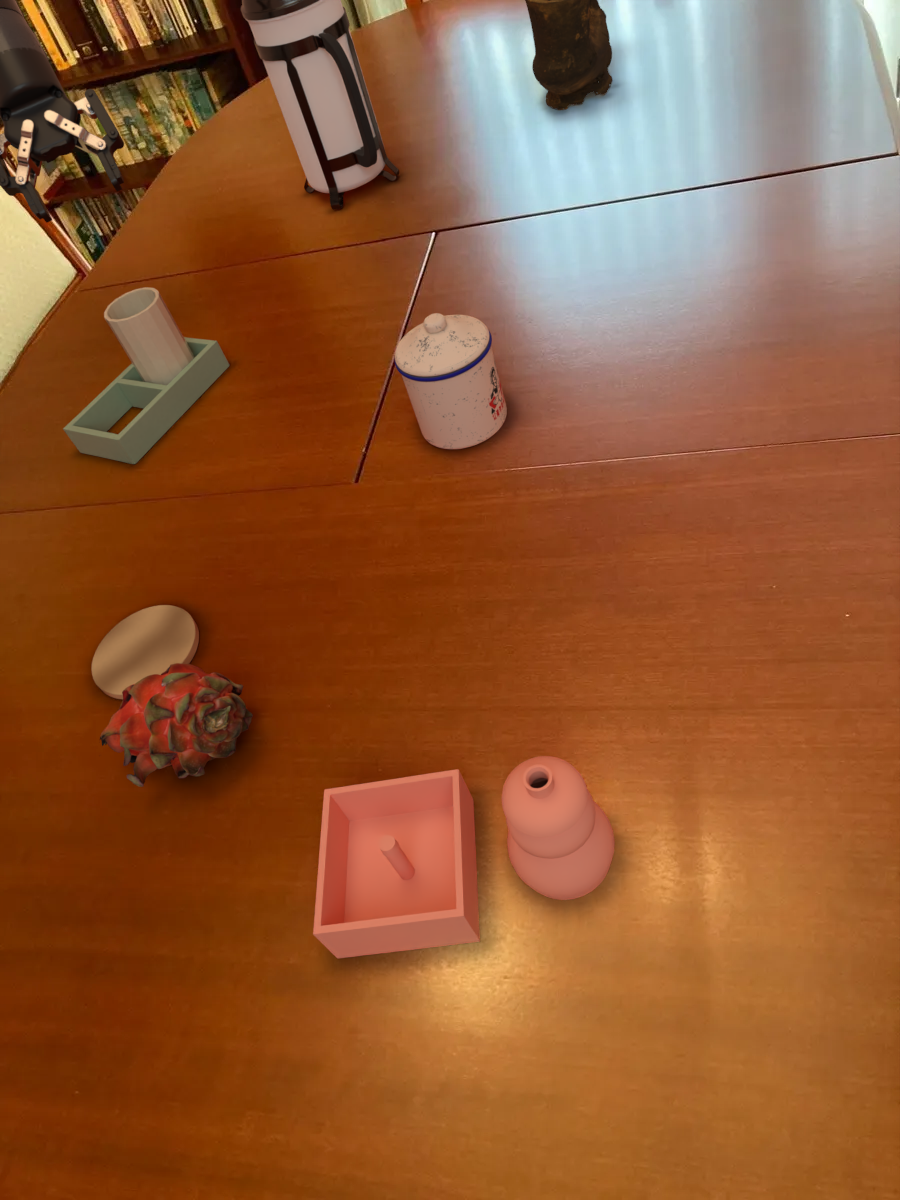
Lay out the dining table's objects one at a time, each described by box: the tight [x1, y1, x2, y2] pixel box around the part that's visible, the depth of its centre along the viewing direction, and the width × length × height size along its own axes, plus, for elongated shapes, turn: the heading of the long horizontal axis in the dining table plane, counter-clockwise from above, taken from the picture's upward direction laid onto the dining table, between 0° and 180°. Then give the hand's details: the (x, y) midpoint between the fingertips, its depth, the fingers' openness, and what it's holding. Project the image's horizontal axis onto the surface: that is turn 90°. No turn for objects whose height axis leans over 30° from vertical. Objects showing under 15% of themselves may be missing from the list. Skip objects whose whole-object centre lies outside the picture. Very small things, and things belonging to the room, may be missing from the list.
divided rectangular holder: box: [62, 336, 231, 465], centre depth 101 cm, size 9×18×4 cm, turn 151°
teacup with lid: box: [394, 312, 508, 450], centre depth 83 cm, size 12×9×12 cm
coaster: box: [91, 604, 200, 700], centre depth 76 cm, size 10×10×1 cm
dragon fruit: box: [98, 663, 254, 788], centre depth 66 cm, size 8×8×12 cm
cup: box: [103, 286, 195, 385], centre depth 100 cm, size 6×6×11 cm
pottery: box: [312, 755, 616, 959], centre depth 53 cm, size 18×10×10 cm, turn 91°
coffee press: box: [240, 0, 400, 211], centre depth 117 cm, size 17×16×30 cm
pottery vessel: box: [524, 0, 613, 111], centre depth 123 cm, size 25×11×20 cm, turn 172°
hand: (82, 203), depth 98 cm, fingers open, 8 cm apart
